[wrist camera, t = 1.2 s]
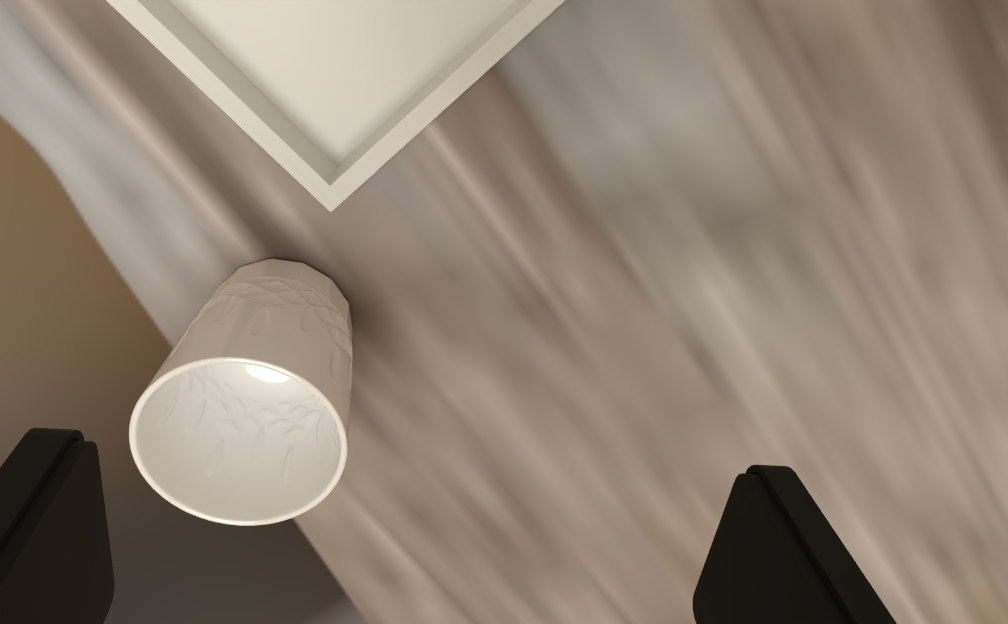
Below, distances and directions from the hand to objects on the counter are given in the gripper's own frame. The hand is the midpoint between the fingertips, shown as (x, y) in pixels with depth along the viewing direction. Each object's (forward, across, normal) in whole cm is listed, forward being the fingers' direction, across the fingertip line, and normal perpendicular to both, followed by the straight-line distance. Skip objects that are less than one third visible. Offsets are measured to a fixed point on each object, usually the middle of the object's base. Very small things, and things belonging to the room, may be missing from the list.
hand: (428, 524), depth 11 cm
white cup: (+25, +6, +11) cm, 28 cm away
